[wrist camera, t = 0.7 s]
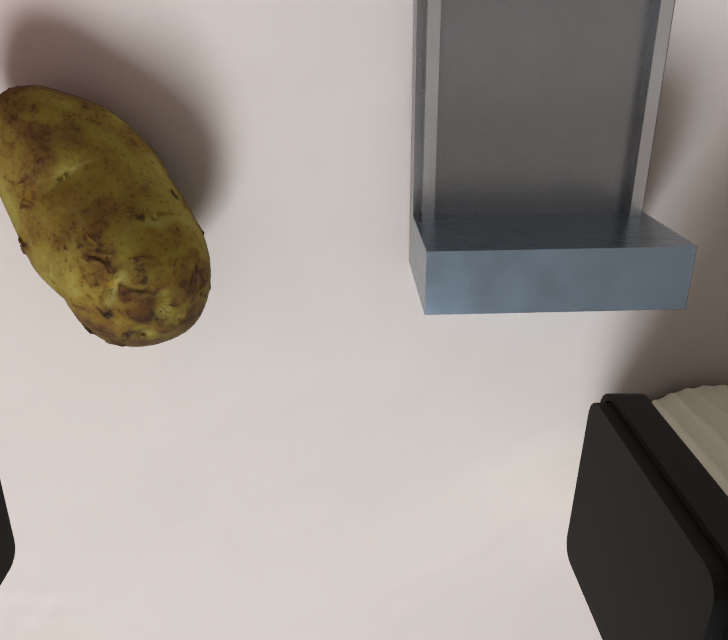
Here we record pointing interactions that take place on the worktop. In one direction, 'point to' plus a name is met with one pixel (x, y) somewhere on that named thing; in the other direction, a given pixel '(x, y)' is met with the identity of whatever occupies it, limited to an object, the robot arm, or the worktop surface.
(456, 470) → the worktop surface
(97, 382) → the worktop surface
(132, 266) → the potato
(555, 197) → the vise bed
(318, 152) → the worktop surface
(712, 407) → the canister
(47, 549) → the worktop surface
